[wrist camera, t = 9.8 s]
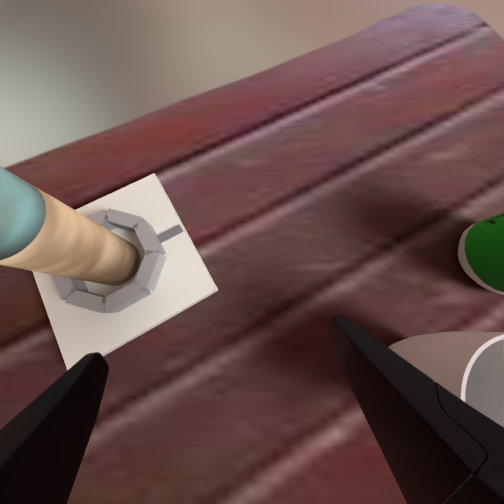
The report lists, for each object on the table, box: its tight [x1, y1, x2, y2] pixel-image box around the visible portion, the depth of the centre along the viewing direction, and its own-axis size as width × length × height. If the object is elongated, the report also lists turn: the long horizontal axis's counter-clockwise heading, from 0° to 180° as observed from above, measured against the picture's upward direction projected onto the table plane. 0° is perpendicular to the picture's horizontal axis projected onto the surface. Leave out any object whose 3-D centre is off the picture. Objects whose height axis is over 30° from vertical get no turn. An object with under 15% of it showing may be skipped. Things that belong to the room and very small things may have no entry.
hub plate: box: [32, 173, 218, 370], centre depth 21 cm, size 14×14×3 cm
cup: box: [388, 332, 504, 427], centre depth 16 cm, size 8×8×10 cm
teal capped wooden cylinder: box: [0, 167, 140, 286], centre depth 16 cm, size 4×4×12 cm
